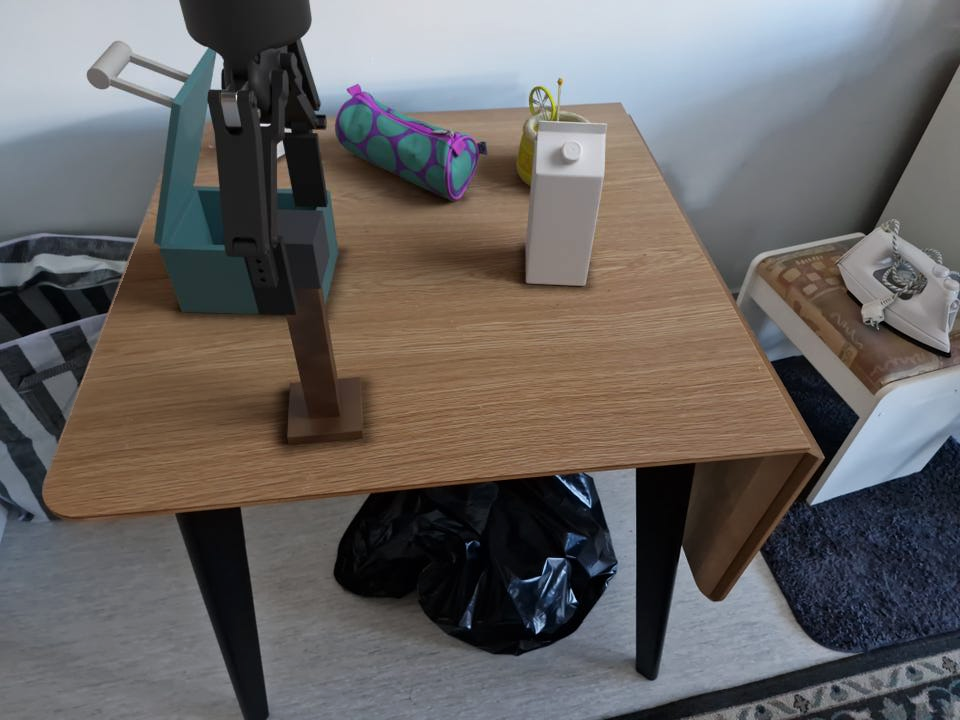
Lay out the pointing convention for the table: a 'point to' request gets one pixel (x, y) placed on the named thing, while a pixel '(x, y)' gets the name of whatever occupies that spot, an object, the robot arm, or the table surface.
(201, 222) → the chest
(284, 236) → the block
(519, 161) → the yellow pot
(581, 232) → the milk carton
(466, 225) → the table surface
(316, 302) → the post stand
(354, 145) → the pencil case
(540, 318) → the table surface
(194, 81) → the lid
